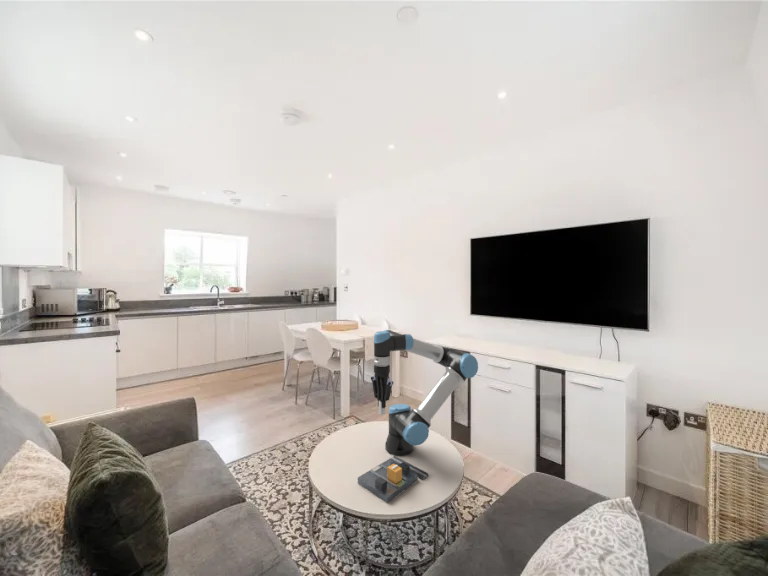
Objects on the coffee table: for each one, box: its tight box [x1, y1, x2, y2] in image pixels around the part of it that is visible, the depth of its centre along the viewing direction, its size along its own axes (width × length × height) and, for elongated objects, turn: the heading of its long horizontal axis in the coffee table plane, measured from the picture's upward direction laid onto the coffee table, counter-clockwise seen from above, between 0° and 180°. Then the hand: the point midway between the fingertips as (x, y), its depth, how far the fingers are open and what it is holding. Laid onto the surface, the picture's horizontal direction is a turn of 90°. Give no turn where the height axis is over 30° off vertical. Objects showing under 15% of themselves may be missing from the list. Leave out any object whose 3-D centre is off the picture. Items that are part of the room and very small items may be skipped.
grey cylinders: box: [389, 455, 429, 480], centre depth 151 cm, size 5×21×1 cm, turn 46°
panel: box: [357, 458, 419, 504], centre depth 141 cm, size 20×18×6 cm
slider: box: [387, 464, 402, 484], centre depth 139 cm, size 4×5×6 cm
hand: (381, 413), depth 150 cm, fingers closed
